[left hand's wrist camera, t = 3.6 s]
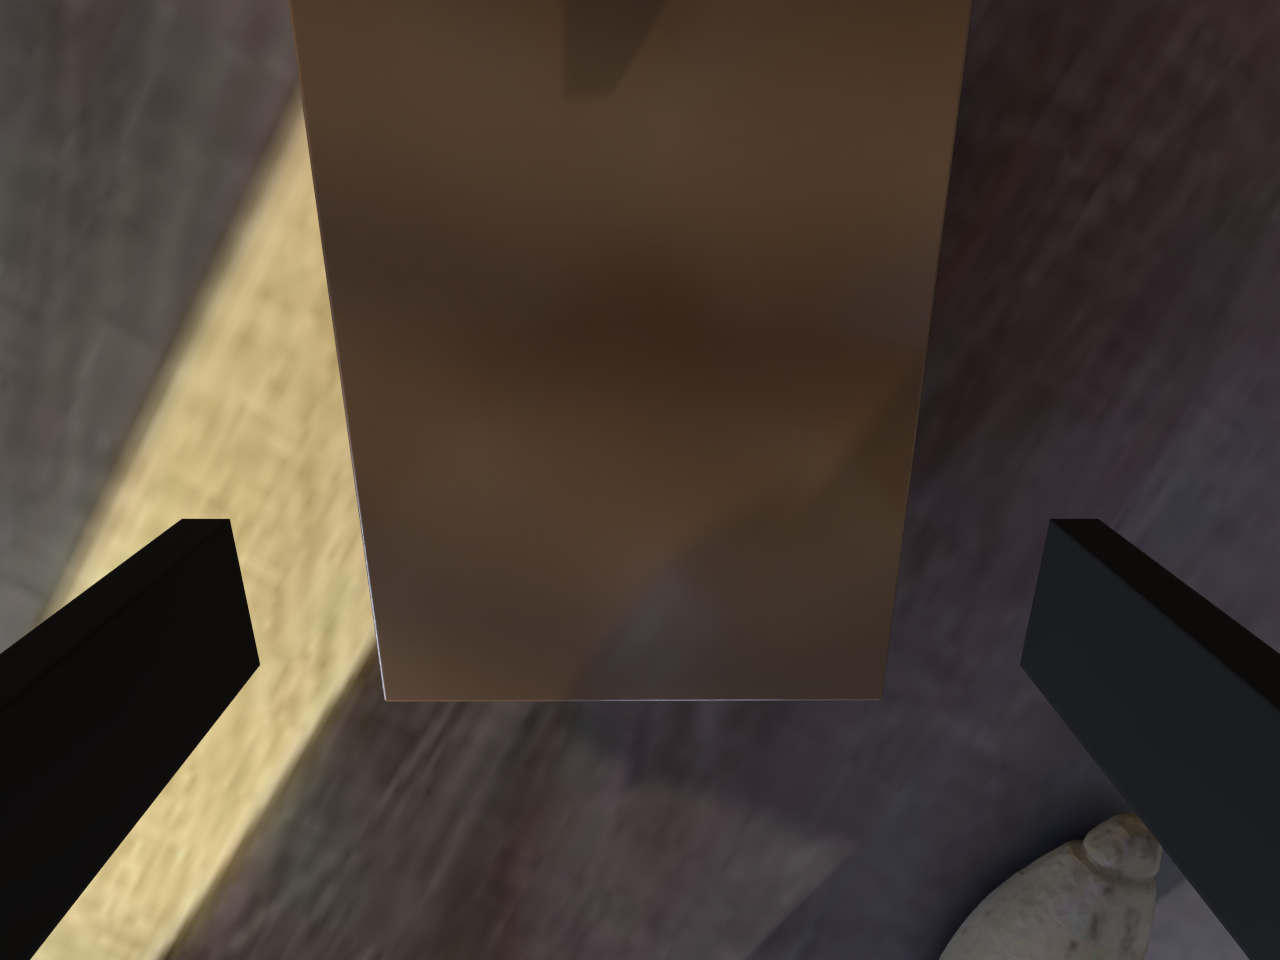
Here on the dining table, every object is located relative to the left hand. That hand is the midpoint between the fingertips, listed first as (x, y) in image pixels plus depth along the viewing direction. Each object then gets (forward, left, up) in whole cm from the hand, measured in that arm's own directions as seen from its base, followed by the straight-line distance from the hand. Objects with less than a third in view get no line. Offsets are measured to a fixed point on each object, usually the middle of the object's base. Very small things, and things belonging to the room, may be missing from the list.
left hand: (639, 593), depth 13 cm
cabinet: (+4, 0, -11) cm, 12 cm away
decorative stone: (-23, -12, -11) cm, 28 cm away
